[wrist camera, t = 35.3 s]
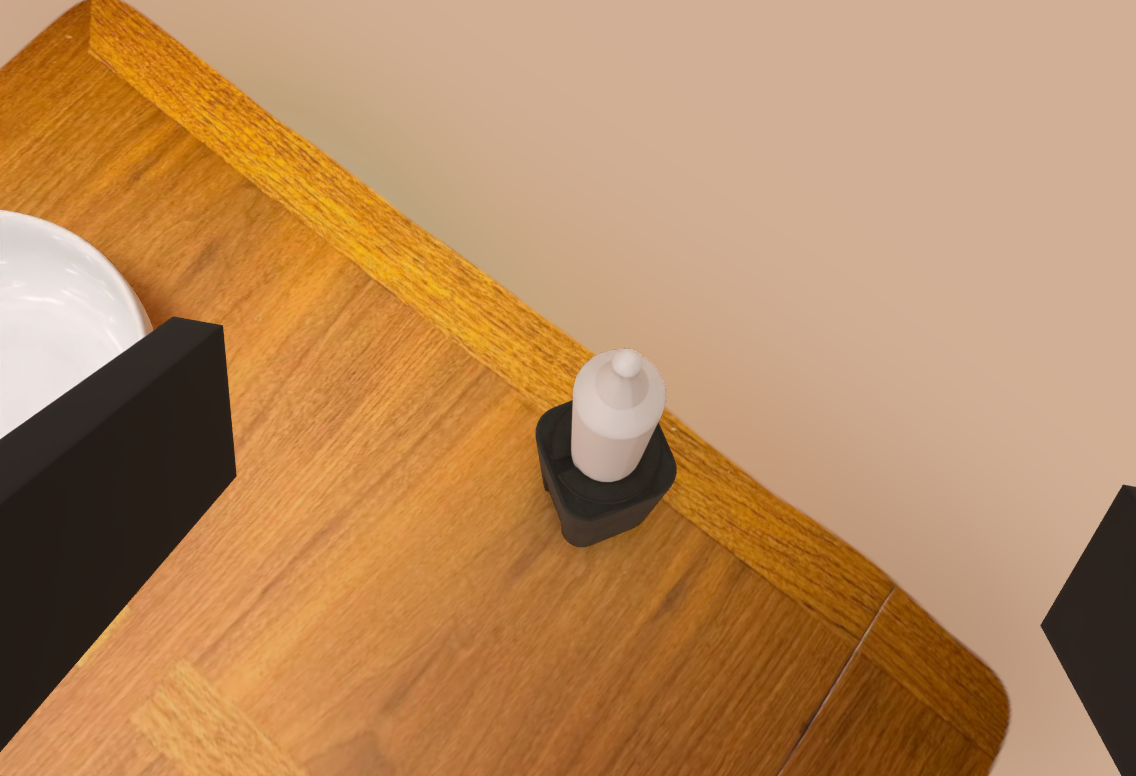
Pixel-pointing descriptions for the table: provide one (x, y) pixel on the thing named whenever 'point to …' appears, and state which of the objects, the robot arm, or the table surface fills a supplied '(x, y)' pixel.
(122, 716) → the table surface
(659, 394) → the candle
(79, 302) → the serving bowl
